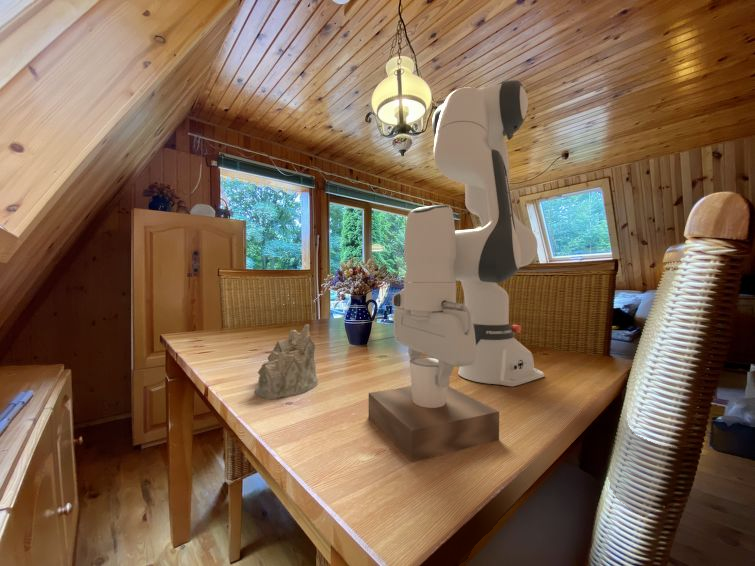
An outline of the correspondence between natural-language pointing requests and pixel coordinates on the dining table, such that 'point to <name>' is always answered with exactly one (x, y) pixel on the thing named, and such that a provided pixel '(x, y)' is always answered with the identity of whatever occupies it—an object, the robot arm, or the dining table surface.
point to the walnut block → (432, 423)
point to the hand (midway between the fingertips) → (429, 379)
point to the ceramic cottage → (289, 367)
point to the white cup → (426, 383)
